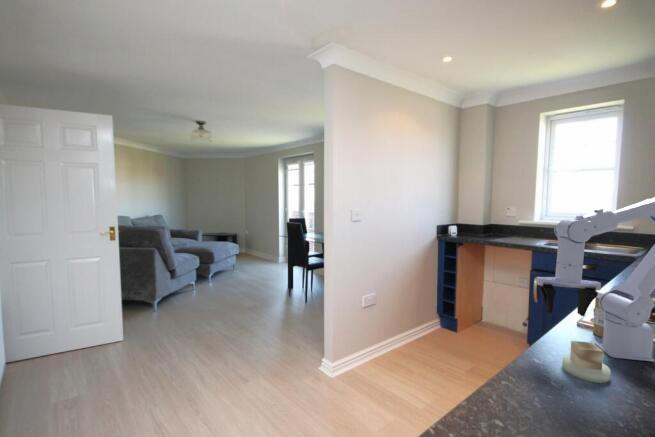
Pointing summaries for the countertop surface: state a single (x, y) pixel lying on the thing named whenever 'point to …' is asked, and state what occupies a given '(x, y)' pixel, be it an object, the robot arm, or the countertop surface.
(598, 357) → the beech cube
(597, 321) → the sprinkles bottle
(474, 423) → the countertop surface
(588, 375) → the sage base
